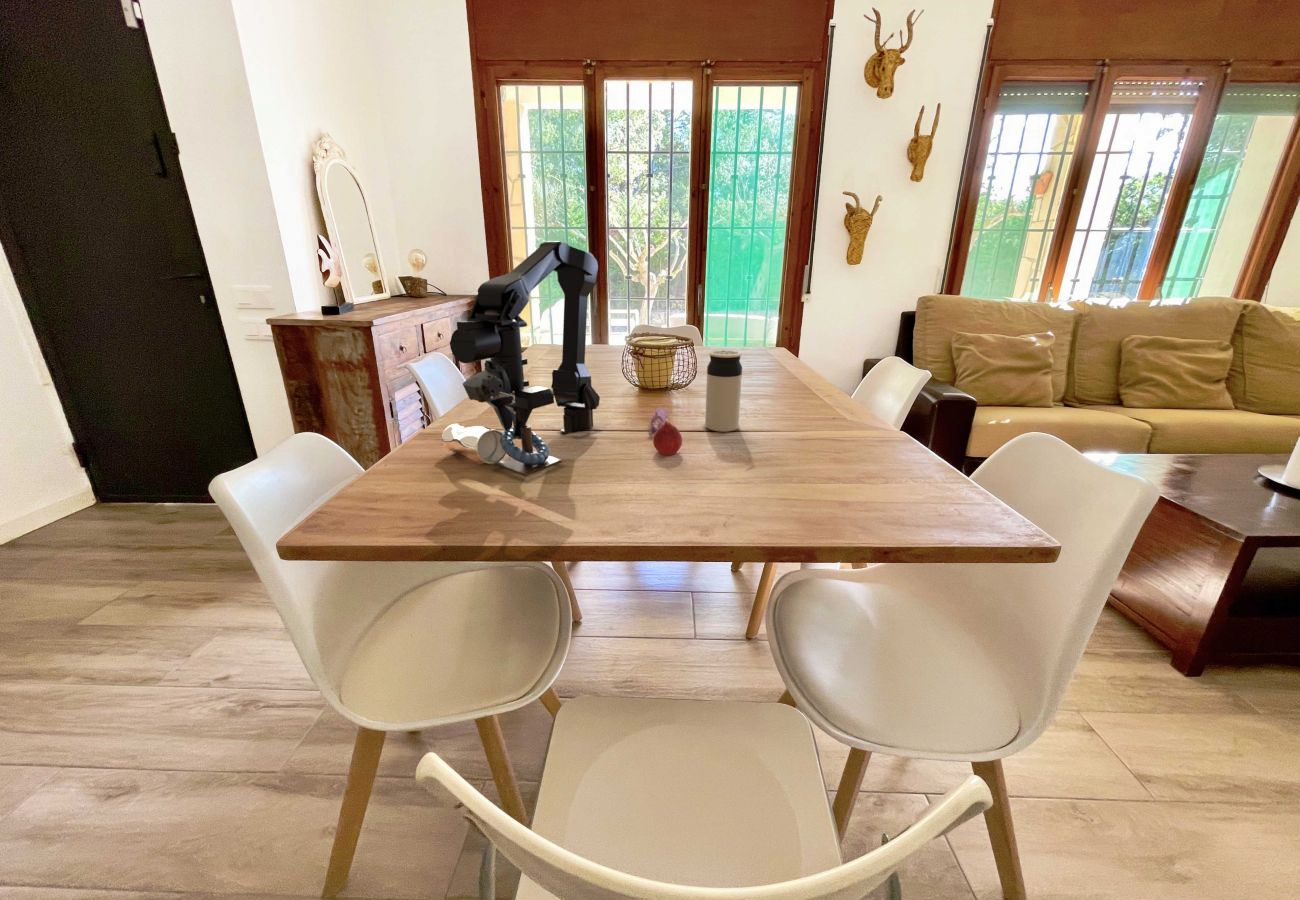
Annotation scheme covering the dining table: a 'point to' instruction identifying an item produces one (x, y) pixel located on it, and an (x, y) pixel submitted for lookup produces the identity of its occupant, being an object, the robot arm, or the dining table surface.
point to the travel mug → (723, 390)
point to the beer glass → (474, 443)
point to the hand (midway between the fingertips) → (513, 434)
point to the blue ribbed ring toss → (522, 455)
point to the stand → (528, 447)
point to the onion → (667, 439)
